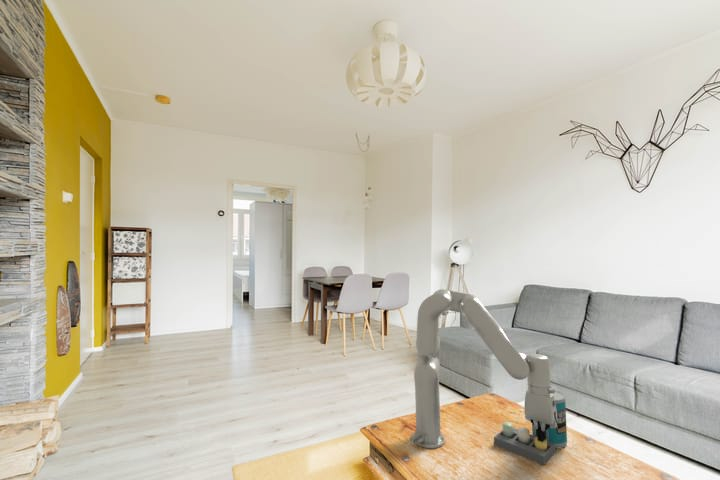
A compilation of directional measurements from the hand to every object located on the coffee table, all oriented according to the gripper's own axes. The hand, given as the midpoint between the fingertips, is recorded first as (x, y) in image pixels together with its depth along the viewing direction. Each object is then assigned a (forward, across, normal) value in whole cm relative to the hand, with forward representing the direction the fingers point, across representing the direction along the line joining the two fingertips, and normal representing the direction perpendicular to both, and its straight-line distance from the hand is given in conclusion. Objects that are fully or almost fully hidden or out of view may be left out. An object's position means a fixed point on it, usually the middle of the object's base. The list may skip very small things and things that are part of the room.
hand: (541, 439), depth 126 cm
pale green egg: (+2, +12, 0) cm, 13 cm away
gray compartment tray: (+5, +6, 0) cm, 8 cm away
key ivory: (+3, +6, 0) cm, 7 cm away
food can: (+6, +2, -13) cm, 14 cm away
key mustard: (+4, 0, 0) cm, 4 cm away
